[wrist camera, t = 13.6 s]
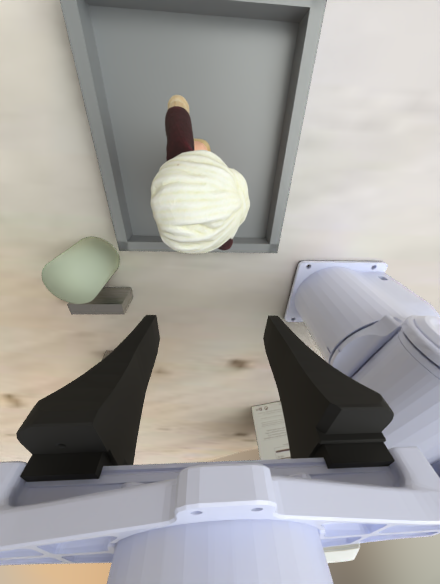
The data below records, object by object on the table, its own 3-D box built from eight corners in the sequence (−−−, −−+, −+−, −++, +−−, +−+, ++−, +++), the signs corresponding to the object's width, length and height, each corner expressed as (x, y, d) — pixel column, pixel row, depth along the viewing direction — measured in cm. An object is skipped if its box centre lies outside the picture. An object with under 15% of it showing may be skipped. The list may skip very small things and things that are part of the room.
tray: (310, 10, 13) (330, -17, 11) (270, 243, 21) (277, 252, 19) (76, -11, 12) (49, -43, 10) (128, 240, 20) (119, 250, 18)
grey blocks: (131, 287, 23) (121, 304, 20) (146, 356, 29) (141, 375, 26) (82, 287, 22) (66, 304, 20) (108, 356, 28) (99, 376, 26)
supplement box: (305, 421, 41) (356, 561, 27) (259, 430, 42) (284, 568, 28) (303, 395, 36) (363, 550, 22) (249, 405, 37) (275, 560, 23)
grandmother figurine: (149, 141, 15) (20, 115, 5) (193, 106, 14) (159, -28, 4) (207, 232, 19) (208, 330, 8) (245, 208, 18) (300, 286, 8)
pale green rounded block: (114, 237, 20) (89, 260, 16) (123, 275, 22) (103, 303, 18) (69, 236, 20) (32, 259, 15) (83, 274, 22) (53, 303, 18)
